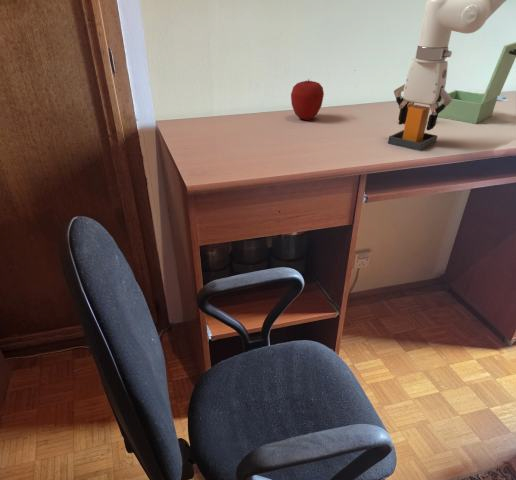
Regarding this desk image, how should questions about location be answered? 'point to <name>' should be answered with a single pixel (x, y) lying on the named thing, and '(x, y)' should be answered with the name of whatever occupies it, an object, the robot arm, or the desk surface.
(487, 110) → the box
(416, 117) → the orange block
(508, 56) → the lunchbox lid
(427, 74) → the robot arm
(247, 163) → the desk surface
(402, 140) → the tray
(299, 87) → the apple
